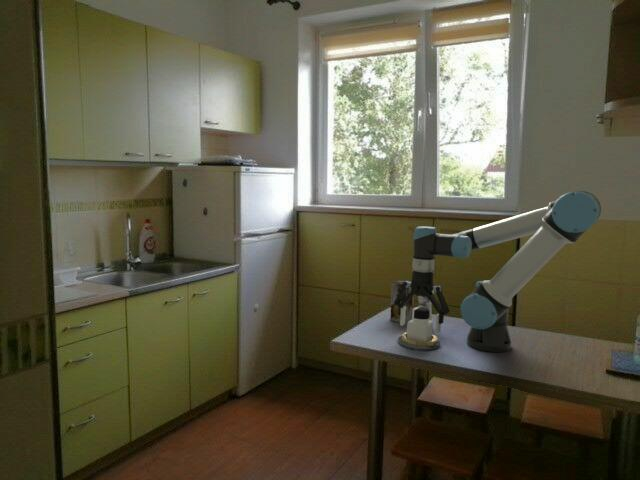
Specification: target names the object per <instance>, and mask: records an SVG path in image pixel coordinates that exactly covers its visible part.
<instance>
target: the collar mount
mask: <svg viewBox="0 0 640 480" xmlns="http://www.w3.org/2000/svg"><path fill="white" fill-rule="evenodd" d="M397 343H398V344H399V345H400V346H401V347H403V348H406V349H410V350H413V351H422V352H423V351H426V352H427V351H434V350H438V349H440V347H441V340H439V339H438V336H437V335H435V334H433V333H432V340H431V341H415V340H411V339H409V338H407V331H405V332H403V333H402V334H401V335H400V336H399V337H398V338H397Z"/></svg>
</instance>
